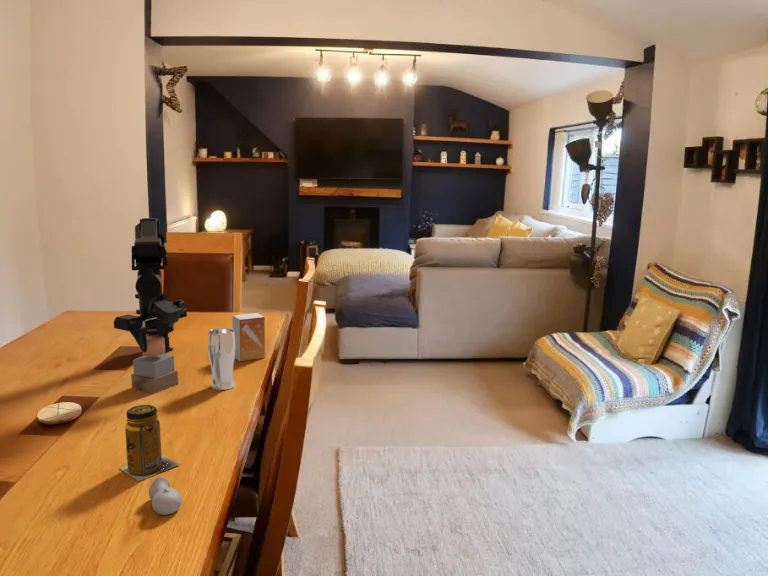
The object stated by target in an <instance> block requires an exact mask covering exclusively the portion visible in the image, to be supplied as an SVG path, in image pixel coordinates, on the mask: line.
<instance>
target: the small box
mask: <svg viewBox="0 0 768 576" xmlns="http://www.w3.org/2000/svg"><path fill="white" fill-rule="evenodd" d="M231 318H232V319H231V321H232V325H231V326H232V329H233V330H234V334H235V344H236V351H235V360H237V361H239V362H245V361H251V360H258V359H260V360H261V359H264V358H265V357H266V347H265V346H266V342H265V341H266V336H265V335H266V333H265V332H266V331H265V329H266V328H265V327H266V325H265V324H266V323H265V322H266V321H265V320H266V319H265V316H264V315H262V314H260V313H258V312H253V313H243V314H236V315H232V316H231Z"/></svg>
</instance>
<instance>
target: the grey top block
mask: <svg viewBox="0 0 768 576" xmlns="http://www.w3.org/2000/svg"><path fill="white" fill-rule="evenodd" d="M132 364H133V365H132V366H133V374H134V375H138V376H144V377H150V378H155V379H156V378H158V377H160V376H163V375H165V374H168V373H170V372H172V371H176V370H175V356H174V355H171V354H165V353H164V354H162V355H158V356H144V355H142V356H140V357H137V358H134V359H133V360H132Z"/></svg>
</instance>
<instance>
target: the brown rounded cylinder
mask: <svg viewBox="0 0 768 576" xmlns="http://www.w3.org/2000/svg"><path fill="white" fill-rule="evenodd" d="M146 341H147V350H146V352H142V351H141V352H142V356H158V355H162V354H165V353H166V352H165V339H164V336H160V335H152V336H146Z"/></svg>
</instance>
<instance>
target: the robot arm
mask: <svg viewBox="0 0 768 576" xmlns="http://www.w3.org/2000/svg"><path fill="white" fill-rule="evenodd" d="M167 234H168V233H167V226H166V225H165V224H163V223H162V222H160V219H159V218H157V217H148V218H147V217H146V218H145V217H143V218H140V219H139V223H138V224H136V225H135V226H134V243H133V244H134V245H131V271H137V276H136V277H137V279H136V282H135V286H134V287H135V291H136V292H137V293H135V294H134V298H135V299H137V300H138V307H139V308H138V309H136V310H135V314H136V315H133V314H123V315H120V316H116V317H115V318H114V319H113V329H117V330H121V331H126V332H129V333H130V334H131V336H132V337H133V338H134V340H135V342H136V344H137V345H138V347H139V348H140V350H141V352H146V350H147V341H146V336H152V335H160V336H164V339H165V353H167V352H170V351H173V350H174V348H173V347H170V337H169V334H171V333H172V332H175V330H174V329H175V328H174V325H175V324H176V323H178V322H179V319H183V318H186V317H187V316H188V311H187V308H186V305H185V301H184V300H182V299H177V300H175V301H169V300H168V296H167V293H163V277H162V273H163V272H162V271H163V270H166V267H168V249H167V248H166V246H165V245H166V244H167V243H168V237H167V236H168V235H167Z"/></svg>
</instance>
